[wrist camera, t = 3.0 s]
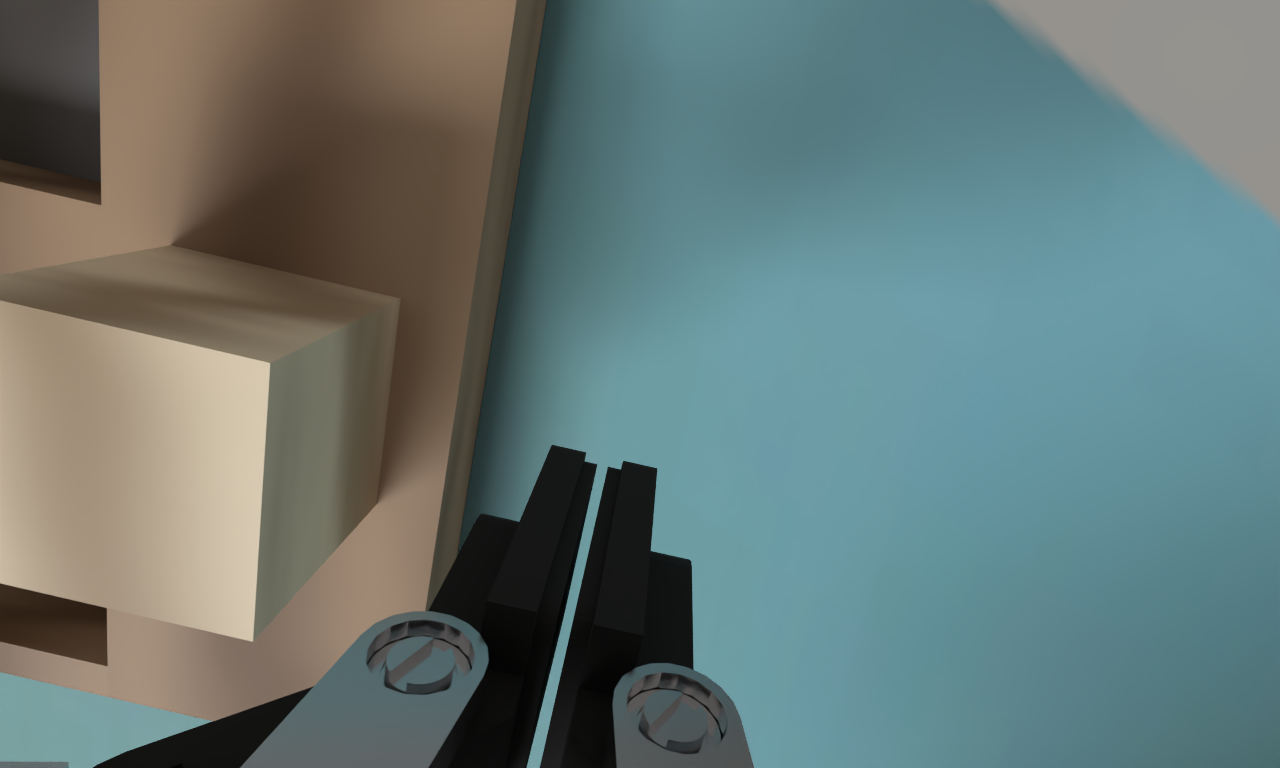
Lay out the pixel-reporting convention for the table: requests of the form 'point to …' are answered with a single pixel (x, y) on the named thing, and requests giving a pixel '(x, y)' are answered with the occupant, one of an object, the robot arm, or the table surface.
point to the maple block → (186, 432)
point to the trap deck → (278, 261)
